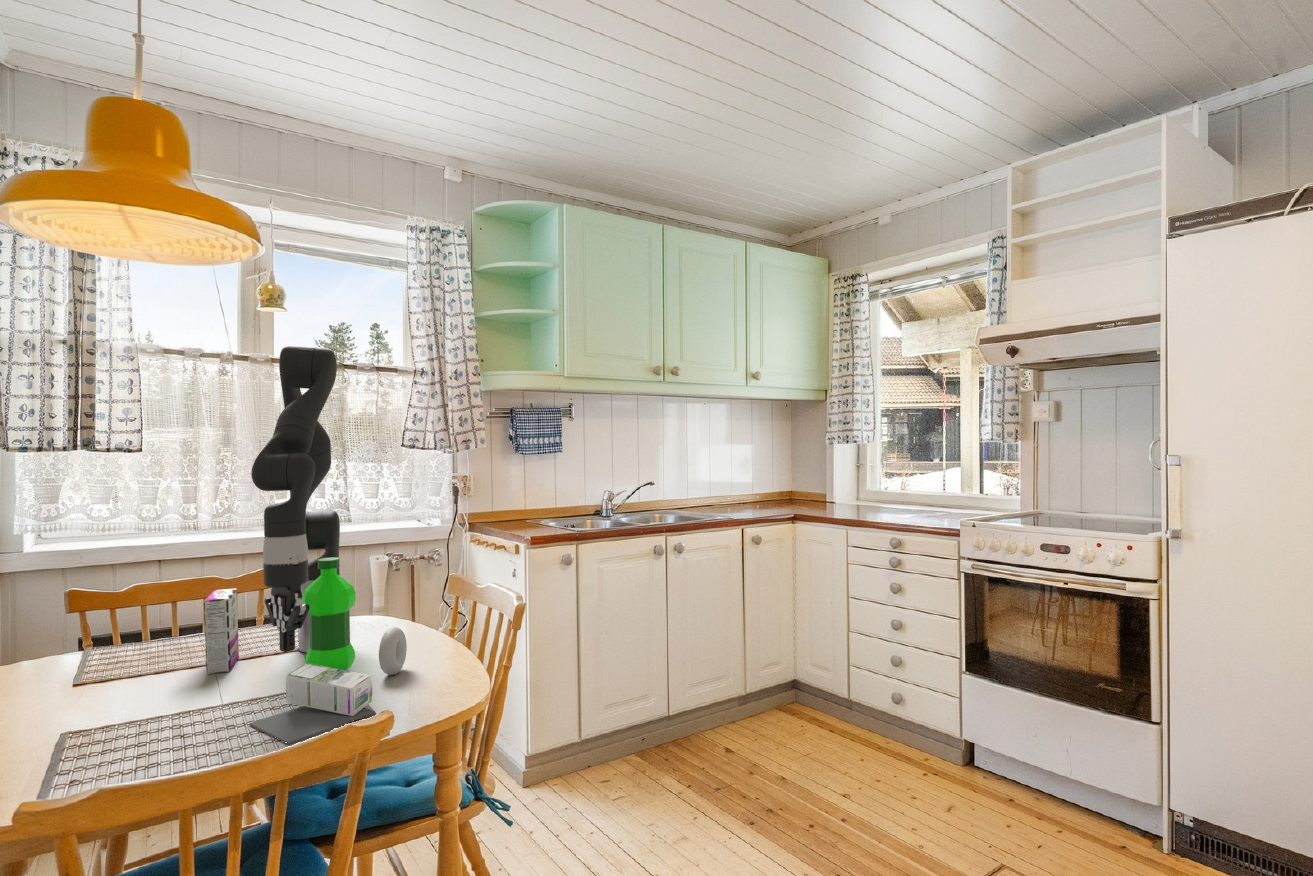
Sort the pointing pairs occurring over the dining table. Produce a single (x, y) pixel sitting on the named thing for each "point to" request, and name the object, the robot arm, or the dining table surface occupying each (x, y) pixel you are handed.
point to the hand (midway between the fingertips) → (287, 650)
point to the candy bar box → (221, 631)
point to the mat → (304, 723)
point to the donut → (392, 651)
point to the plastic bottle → (330, 617)
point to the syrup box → (329, 689)
